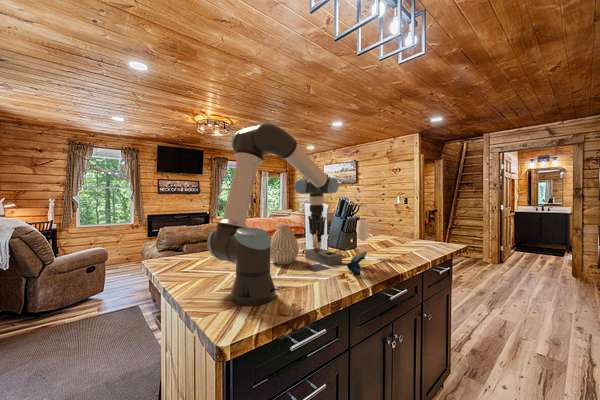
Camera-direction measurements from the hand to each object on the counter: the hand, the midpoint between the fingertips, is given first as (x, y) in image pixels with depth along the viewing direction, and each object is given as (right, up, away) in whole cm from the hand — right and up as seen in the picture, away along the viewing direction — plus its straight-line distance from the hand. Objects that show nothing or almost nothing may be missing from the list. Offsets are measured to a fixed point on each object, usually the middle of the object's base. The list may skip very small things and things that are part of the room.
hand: (316, 247), depth 142 cm
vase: (-18, -7, -7) cm, 20 cm away
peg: (0, -3, 0) cm, 3 cm away
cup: (+27, -7, +5) cm, 28 cm away
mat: (-1, -7, -18) cm, 19 cm away
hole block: (+3, -7, -5) cm, 9 cm away
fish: (+16, -7, -28) cm, 33 cm away
